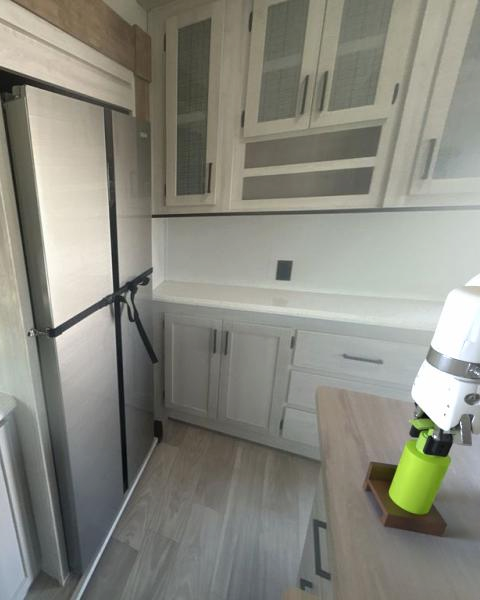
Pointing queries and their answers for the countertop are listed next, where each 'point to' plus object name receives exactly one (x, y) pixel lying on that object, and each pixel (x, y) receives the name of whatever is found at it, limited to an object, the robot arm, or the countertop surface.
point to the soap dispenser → (418, 473)
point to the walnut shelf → (394, 515)
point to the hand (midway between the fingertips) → (427, 444)
